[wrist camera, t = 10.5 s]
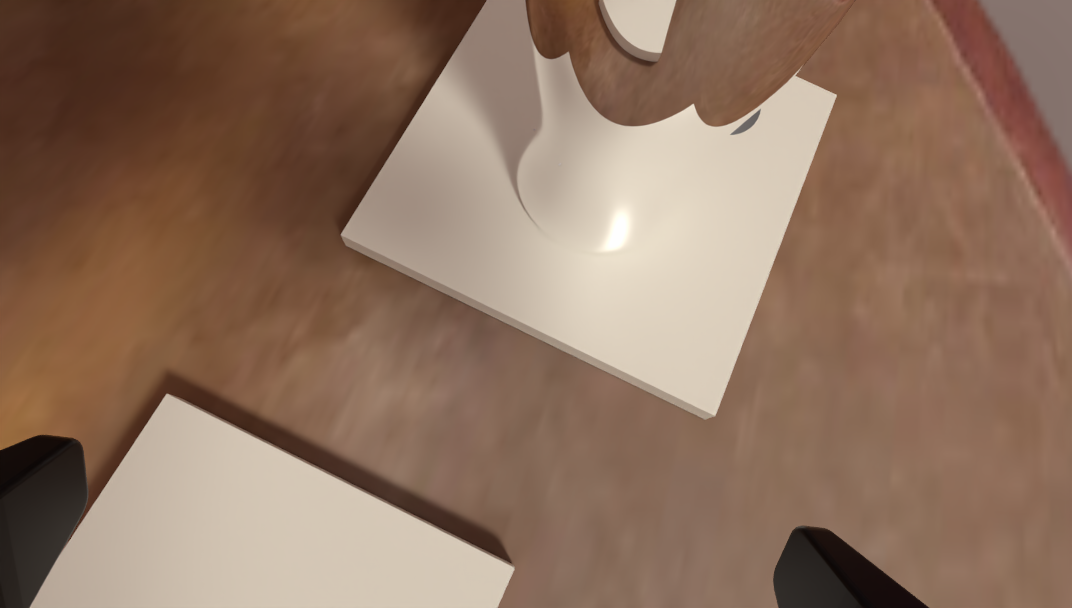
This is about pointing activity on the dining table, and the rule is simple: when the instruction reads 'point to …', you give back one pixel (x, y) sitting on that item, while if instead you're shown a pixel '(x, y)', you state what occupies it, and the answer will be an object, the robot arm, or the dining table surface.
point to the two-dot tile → (575, 276)
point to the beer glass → (646, 103)
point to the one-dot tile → (254, 533)
